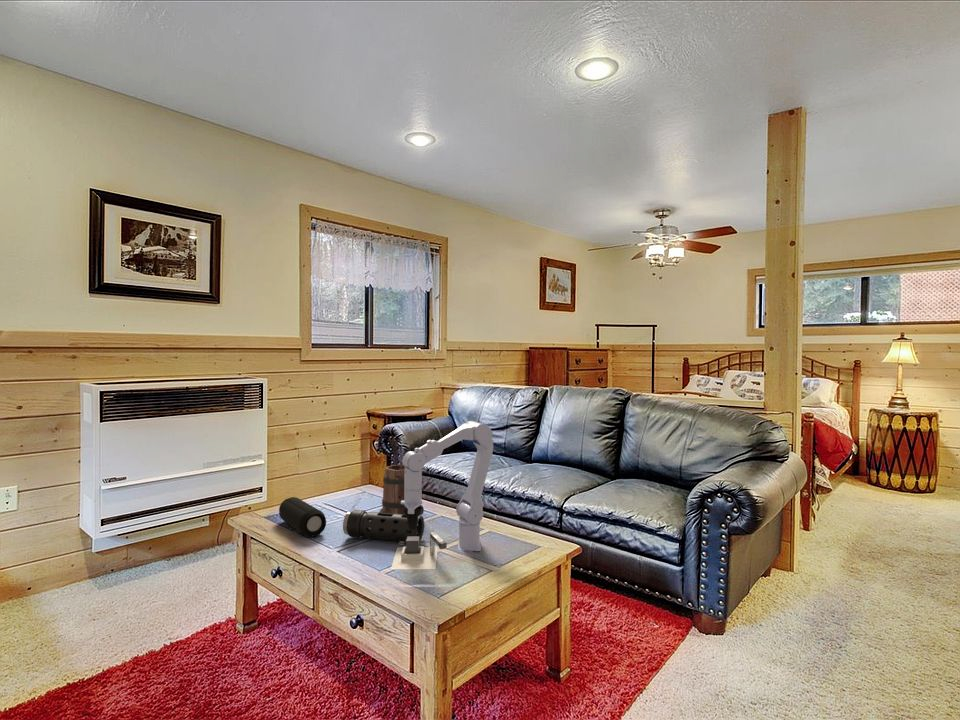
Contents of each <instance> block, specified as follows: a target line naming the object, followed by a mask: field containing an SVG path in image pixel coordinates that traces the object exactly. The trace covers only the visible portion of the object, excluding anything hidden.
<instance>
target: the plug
mask: <svg viewBox="0 0 960 720" xmlns="http://www.w3.org/2000/svg"><path fill="white" fill-rule="evenodd" d="M398 545H400V546H401V545H402V546H403V545H404V546H405V547H406V554H419V546H420V542H419V536H407V540H406V542H404V541H398Z"/></svg>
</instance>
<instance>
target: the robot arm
mask: <svg viewBox="0 0 960 720" xmlns="http://www.w3.org/2000/svg"><path fill="white" fill-rule="evenodd" d="M493 434H494V433H493V431H492V429H491V428H490V426H489V425H488V424H486V423H481V422H477V421H475V420H469V421H467V422H465V423H462V424H461V425H459V427H457V428H456V429H455V430H453V431H451V432H450V433H448V434H447V435H445V436H444V437H442V438H440V439H439V440H435V439H432V440H431V439H428V440H427V441H426V443H425V444H423V445H422V446H420V447H415V448H414V451H413V450H412V451H411V450H410V451H407V452H405V454H404V455H403V457H402V459H401V463H402V464H401V465H404V467H405V474H404V500H403V501H401V504H404V505H405V508H404V512H405V514H406V516H407V520H408V525H409V529H410V530H416V527H417V526H418V525H417V522H418V516H419V514H420V512H421V508H422V506H423V500H422V498H423V495H422V493H423V492H422V491H423V490H422V487H423V486H422V485H423V484H422V483H423V482H422V481H423V472H422V471H423V468H424V467H425V465H426V464H427V463H430V462H431V461H433V460H434V459H436V458H438V457H439V456H441V455H442V454H443V451H444V449H445V450H446V448H449V447H451V446H452V445H455V444H457V443H458V442H460V441H463V440H464V441H465V440H466V441H472V443H473V444H474V446H475V448H476V454H475V457H474V461H473V465H472V469H471V472H470V473H471V474H470V476H469V477H470V478H469V482H468V485H467V490H466V492H465V493H464V494H463V495H461V498H460V501H459V502H458V503H457V505H456V506H455V507H456V509H455V510H456V511H455V512H456V514H457V516H459V520H458V521H459V523H458V525H459V526H458V540H457V551H472V552H481V551H482V546H481V545H482V544H481V540H480V539H481V538H480V536H481V535H480V531H481V529H480V528H481V525H480V524H481V521H482V520H483V518H484V509H483V508H484V502H483V499H482V494H483V492H484V487H485V483H486V478H487V475H488V471H489V467H490V464H491V460H492V456H493V452H494V442H493ZM421 505H422V506H421Z"/></svg>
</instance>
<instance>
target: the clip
mask: <svg viewBox="0 0 960 720" xmlns="http://www.w3.org/2000/svg"><path fill="white" fill-rule="evenodd" d="M436 545H437V547H438V549H439V550H445V549H447V545H448V544H447V542H446V540H443V538H441V537H440V536H439V535H438V534H437V533H436V532H435V531H430V532H429V547H430V556H434V555H435V547H436Z"/></svg>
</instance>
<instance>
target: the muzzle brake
mask: <svg viewBox="0 0 960 720" xmlns="http://www.w3.org/2000/svg"><path fill="white" fill-rule="evenodd" d="M424 531H425V520H424V517H423V516H422V515H420V516H418V522H417V527H416V530H410V529H409V525H408V520H407V516H406V515H405V514H392V513H379V512H376V511H369V512H367V511H366V510H363V509H362V510H361V509H354V510H351V511H347V512H346V514H345V516H344V517H343V521H342V532H343V533H344V535H346V536H349V537H350V538H359V539H360V538H363V539H369V540H370V539H371V540H372V539H373V540H374V539H376V540H386V541H393V542H394V541H395V542H405V543H406V540H407V536H419V543H420V542H421V541H422V539H423V535H424Z"/></svg>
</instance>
